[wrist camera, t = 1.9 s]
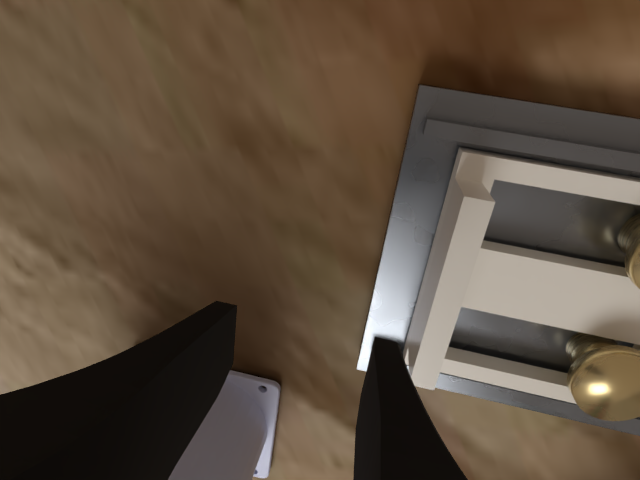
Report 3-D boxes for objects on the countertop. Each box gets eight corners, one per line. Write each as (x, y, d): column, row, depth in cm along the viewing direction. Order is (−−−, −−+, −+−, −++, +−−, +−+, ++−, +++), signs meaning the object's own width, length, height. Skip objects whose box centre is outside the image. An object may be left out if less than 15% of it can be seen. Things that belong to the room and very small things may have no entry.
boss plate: (358, 354, 23) (350, 407, 19) (418, 83, 17) (422, 88, 14) (714, 437, 21) (779, 513, 17) (914, 161, 15) (1072, 189, 12)
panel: (403, 350, 20) (403, 403, 17) (459, 147, 16) (472, 166, 13) (619, 399, 19) (661, 465, 16) (735, 194, 15) (824, 227, 12)
